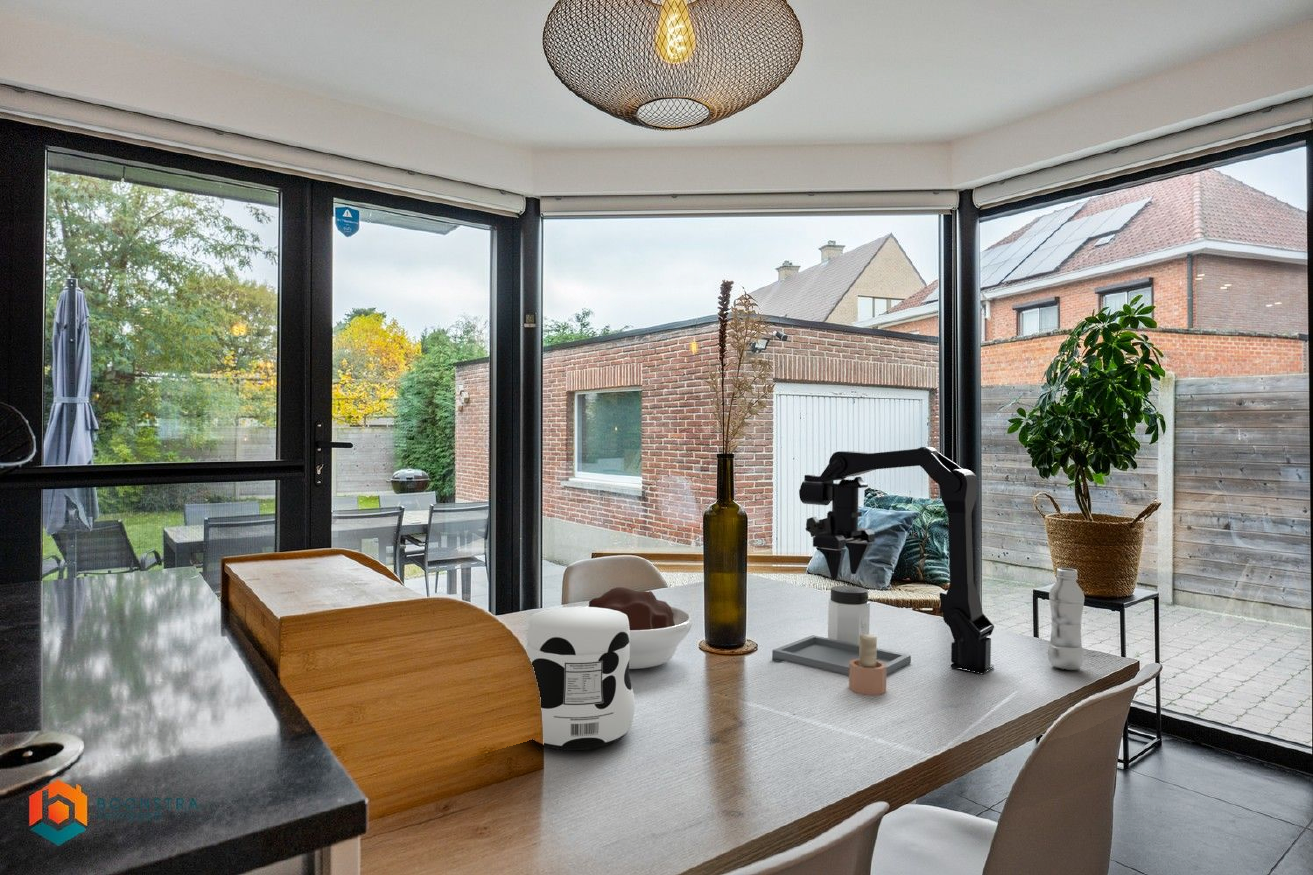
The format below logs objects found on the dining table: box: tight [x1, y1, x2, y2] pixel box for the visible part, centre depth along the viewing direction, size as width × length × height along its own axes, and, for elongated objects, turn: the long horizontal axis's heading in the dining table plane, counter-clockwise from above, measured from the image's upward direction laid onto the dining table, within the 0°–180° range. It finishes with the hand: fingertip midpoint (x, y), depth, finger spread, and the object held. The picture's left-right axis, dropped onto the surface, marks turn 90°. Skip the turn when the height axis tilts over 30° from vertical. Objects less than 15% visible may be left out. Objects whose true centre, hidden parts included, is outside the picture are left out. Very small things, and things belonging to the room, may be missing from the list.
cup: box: [848, 659, 887, 696], centre depth 139 cm, size 6×6×5 cm
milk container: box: [525, 606, 636, 751], centre depth 117 cm, size 17×17×18 cm
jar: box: [827, 585, 871, 645], centre depth 172 cm, size 9×8×12 cm
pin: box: [859, 633, 878, 668], centre depth 139 cm, size 3×3×10 cm
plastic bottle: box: [1047, 567, 1086, 671], centre depth 155 cm, size 6×7×20 cm
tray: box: [771, 634, 912, 677], centre depth 157 cm, size 22×16×2 cm
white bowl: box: [584, 586, 693, 670], centre depth 155 cm, size 25×25×15 cm
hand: (844, 576), depth 173 cm, fingers open, 9 cm apart
